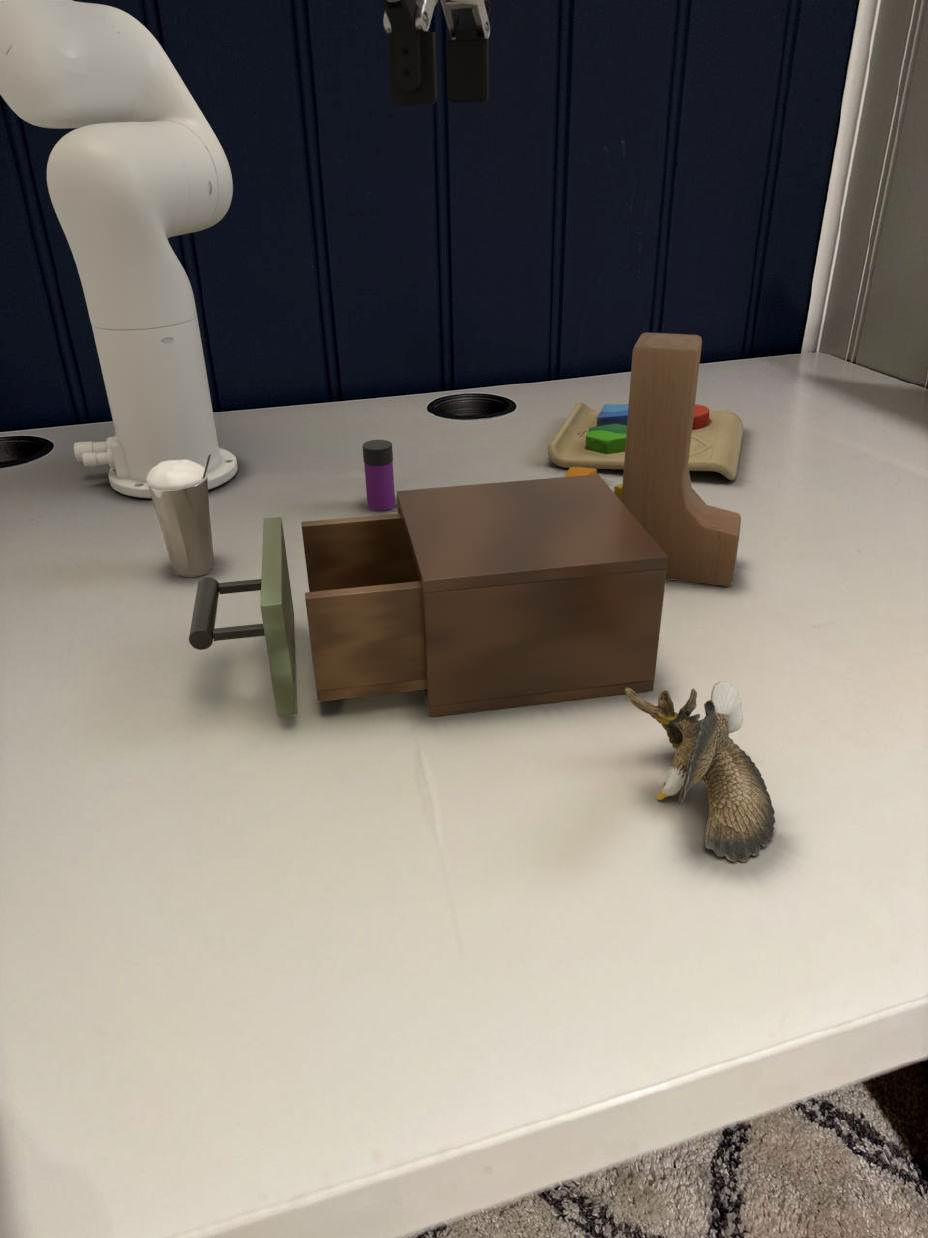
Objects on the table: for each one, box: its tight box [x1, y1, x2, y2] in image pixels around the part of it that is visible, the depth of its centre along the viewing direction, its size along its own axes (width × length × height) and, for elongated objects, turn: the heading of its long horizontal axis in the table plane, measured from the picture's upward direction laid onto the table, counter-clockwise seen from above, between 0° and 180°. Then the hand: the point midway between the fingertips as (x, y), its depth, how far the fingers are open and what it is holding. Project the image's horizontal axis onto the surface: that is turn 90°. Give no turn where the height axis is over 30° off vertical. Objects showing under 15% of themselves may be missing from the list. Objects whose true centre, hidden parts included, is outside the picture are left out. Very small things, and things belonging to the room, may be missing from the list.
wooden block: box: [621, 332, 742, 587], centre depth 68 cm, size 9×4×18 cm, turn 73°
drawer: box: [188, 512, 427, 718], centre depth 58 cm, size 18×12×8 cm
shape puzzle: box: [547, 401, 744, 500], centre depth 93 cm, size 25×19×3 cm
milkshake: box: [147, 454, 215, 579], centre depth 71 cm, size 4×5×10 cm
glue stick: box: [362, 439, 396, 512], centre depth 83 cm, size 3×3×6 cm
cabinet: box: [396, 473, 668, 718], centre depth 60 cm, size 15×14×10 cm
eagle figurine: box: [624, 681, 776, 863], centre depth 47 cm, size 8×7×9 cm
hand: (442, 102), depth 64 cm, fingers open, 9 cm apart
